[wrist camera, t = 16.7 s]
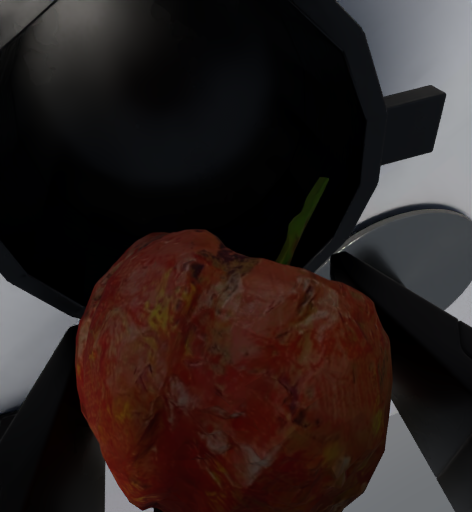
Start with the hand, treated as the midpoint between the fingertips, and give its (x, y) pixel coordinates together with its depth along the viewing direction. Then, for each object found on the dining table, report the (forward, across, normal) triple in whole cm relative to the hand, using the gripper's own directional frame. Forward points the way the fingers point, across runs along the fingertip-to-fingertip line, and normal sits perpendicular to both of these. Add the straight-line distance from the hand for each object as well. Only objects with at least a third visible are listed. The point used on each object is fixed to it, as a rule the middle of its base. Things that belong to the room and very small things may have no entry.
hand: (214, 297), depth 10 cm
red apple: (+2, 0, 0) cm, 2 cm away
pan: (+11, 0, 0) cm, 11 cm away
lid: (+10, -13, +17) cm, 24 cm away
